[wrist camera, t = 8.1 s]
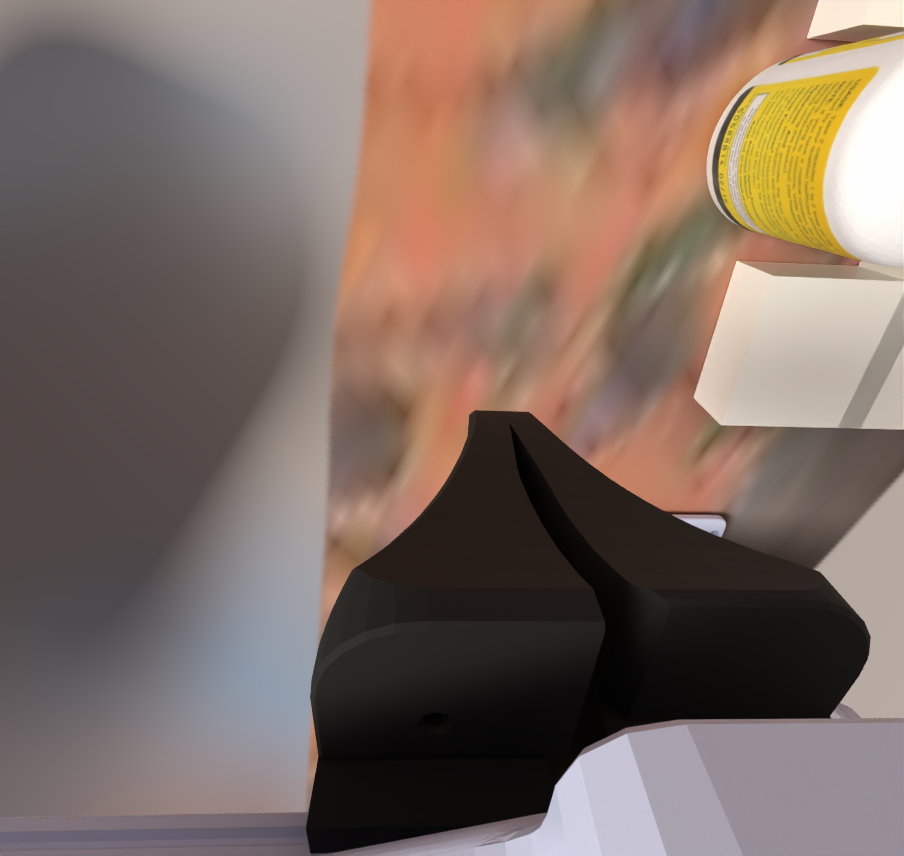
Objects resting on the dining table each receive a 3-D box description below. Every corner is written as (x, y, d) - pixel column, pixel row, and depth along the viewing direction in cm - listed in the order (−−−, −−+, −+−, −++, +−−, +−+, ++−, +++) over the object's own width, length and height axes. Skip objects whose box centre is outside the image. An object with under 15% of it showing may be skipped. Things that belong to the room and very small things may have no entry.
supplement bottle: (735, 260, 20) (960, 347, 11) (676, 131, 18) (901, 120, 9) (877, 166, 19) (1257, 186, 10) (832, 14, 16) (1270, -129, 8)
